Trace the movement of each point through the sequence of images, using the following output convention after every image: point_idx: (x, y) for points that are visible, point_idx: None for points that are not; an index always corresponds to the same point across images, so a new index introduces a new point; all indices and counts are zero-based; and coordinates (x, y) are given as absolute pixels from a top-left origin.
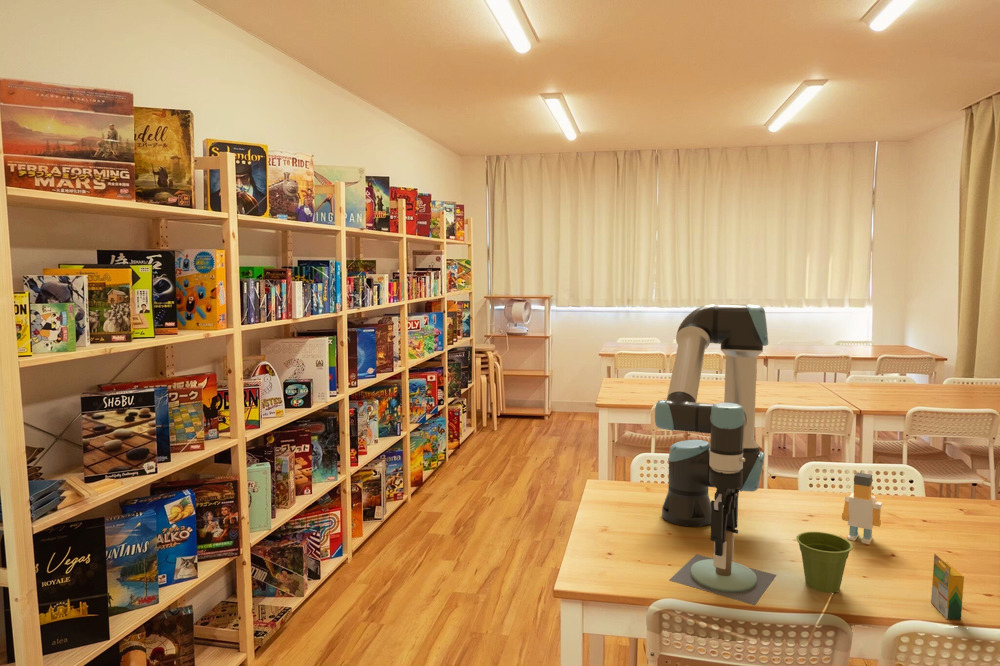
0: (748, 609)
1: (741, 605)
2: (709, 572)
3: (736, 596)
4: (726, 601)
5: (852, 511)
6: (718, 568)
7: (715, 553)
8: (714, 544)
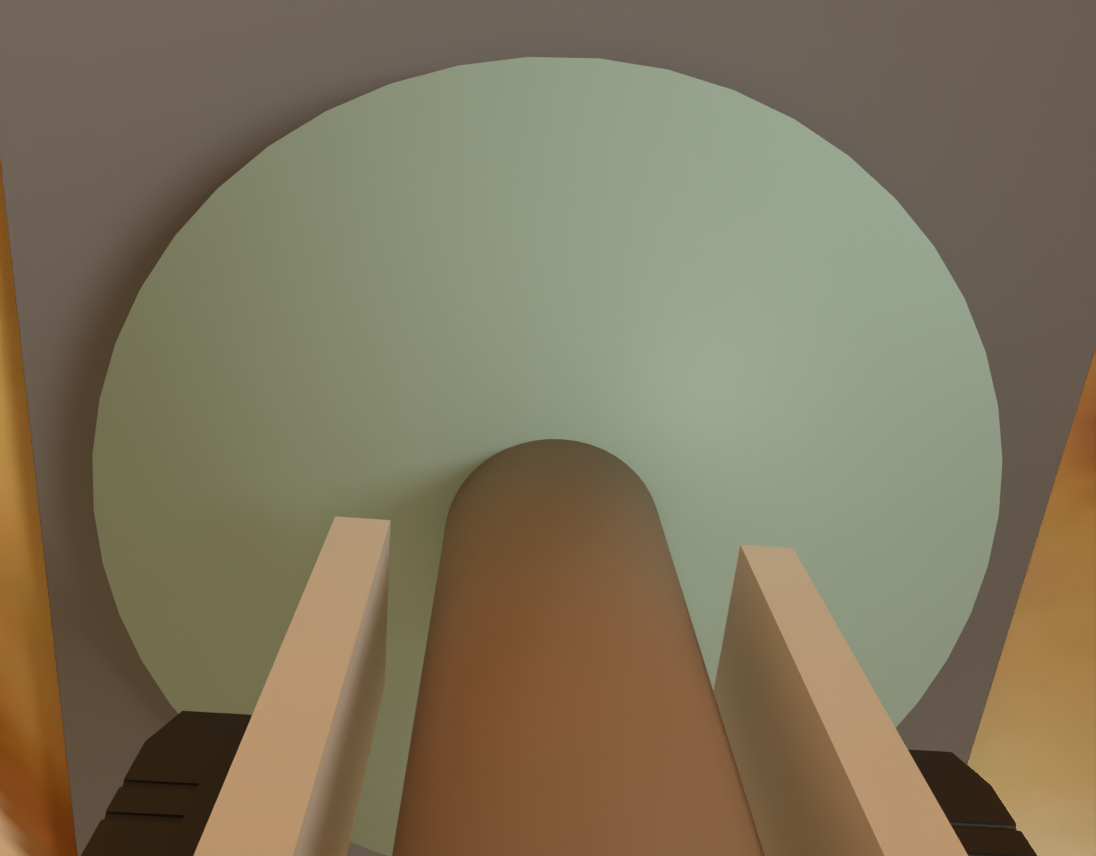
0: (15, 844)
1: (48, 779)
2: (448, 376)
3: (141, 734)
4: (22, 644)
5: None
6: (448, 539)
7: (149, 746)
8: (217, 818)
